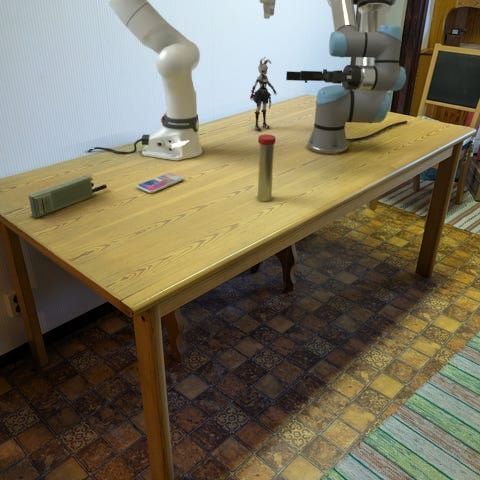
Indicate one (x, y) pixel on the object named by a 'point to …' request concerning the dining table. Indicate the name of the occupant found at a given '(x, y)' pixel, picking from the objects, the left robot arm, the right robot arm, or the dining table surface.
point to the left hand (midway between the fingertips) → (268, 16)
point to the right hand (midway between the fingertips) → (293, 75)
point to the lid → (266, 139)
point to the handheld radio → (62, 195)
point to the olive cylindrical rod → (265, 172)
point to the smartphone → (159, 182)
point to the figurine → (262, 93)
